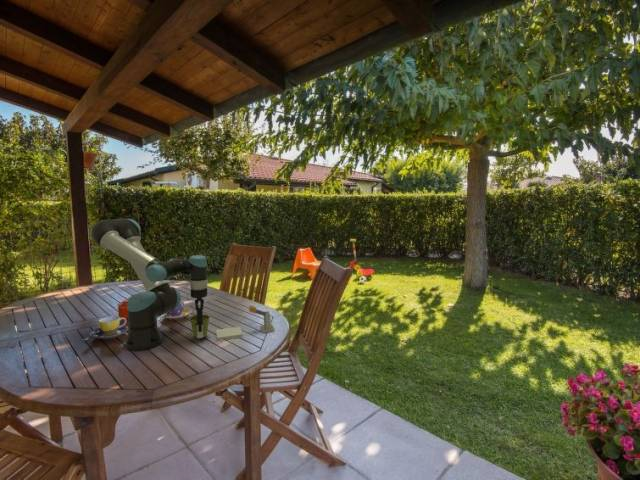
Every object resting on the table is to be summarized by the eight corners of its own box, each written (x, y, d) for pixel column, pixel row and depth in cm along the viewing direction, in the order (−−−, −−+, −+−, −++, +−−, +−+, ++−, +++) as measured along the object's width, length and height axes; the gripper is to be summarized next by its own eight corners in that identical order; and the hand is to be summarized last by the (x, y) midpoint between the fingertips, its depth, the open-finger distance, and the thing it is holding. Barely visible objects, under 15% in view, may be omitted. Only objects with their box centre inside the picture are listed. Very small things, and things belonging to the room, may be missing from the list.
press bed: (217, 340, 162) (216, 337, 162) (216, 332, 173) (216, 329, 173) (242, 337, 166) (242, 334, 166) (240, 329, 177) (240, 326, 176)
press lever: (249, 312, 170) (251, 307, 170) (248, 309, 174) (250, 305, 174) (268, 318, 173) (270, 314, 173) (267, 315, 177) (269, 311, 177)
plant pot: (204, 339, 160) (203, 321, 159) (185, 337, 162) (185, 320, 161) (214, 332, 169) (213, 315, 168) (196, 330, 171) (196, 313, 170)
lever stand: (262, 333, 171) (262, 315, 170) (260, 328, 178) (259, 311, 177) (274, 331, 173) (274, 314, 172) (271, 326, 180) (271, 310, 179)
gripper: (207, 293, 154) (209, 341, 157) (206, 282, 174) (208, 325, 176) (189, 294, 152) (191, 343, 154) (191, 283, 171) (192, 327, 174)
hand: (200, 334), depth 165 cm, fingers closed on plant pot, 8 cm apart
